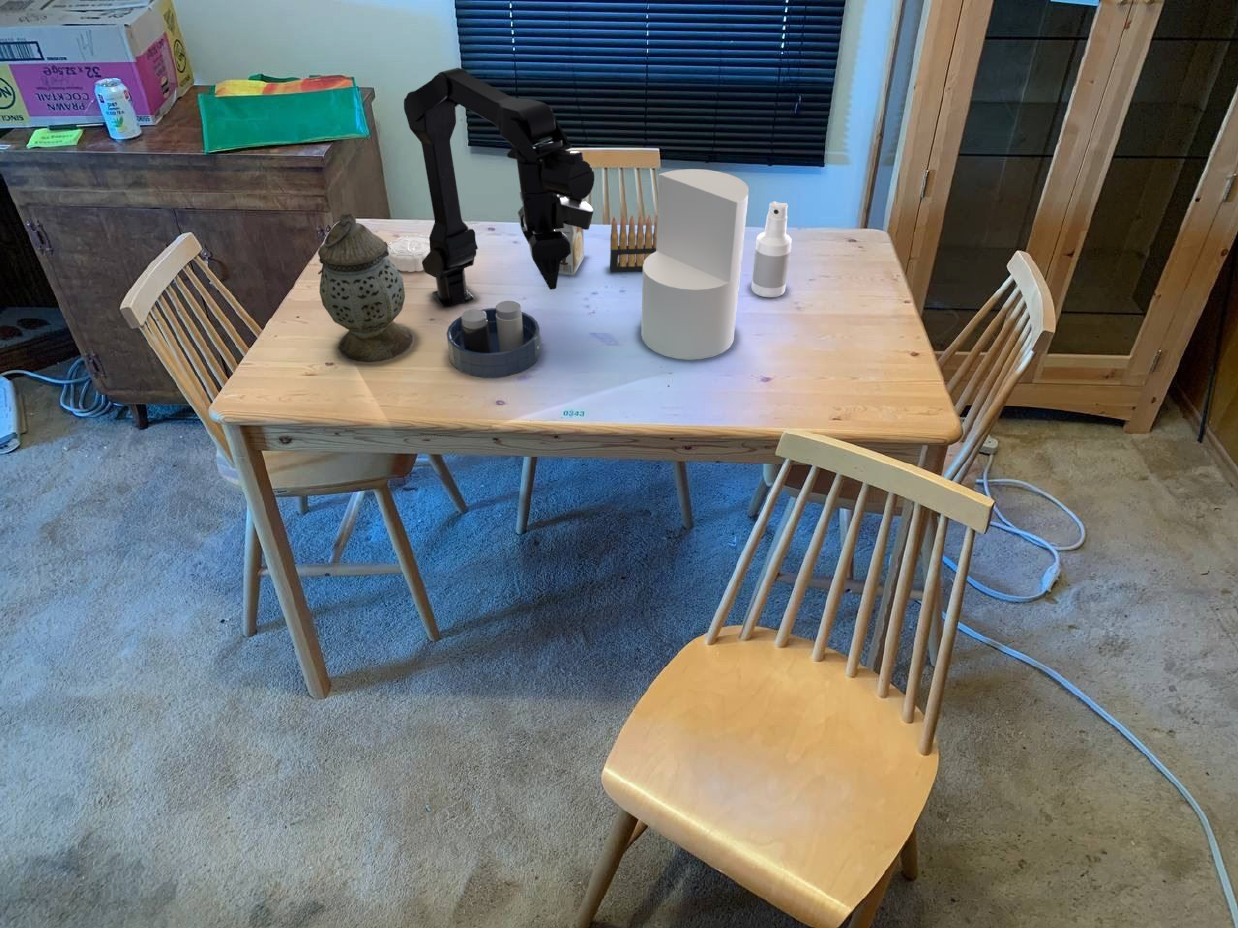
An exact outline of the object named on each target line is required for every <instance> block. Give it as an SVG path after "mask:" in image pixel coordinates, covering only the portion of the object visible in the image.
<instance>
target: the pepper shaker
mask: <svg viewBox="0 0 1238 928" xmlns="http://www.w3.org/2000/svg"><path fill="white" fill-rule="evenodd" d="M460 317H461V318H462V324H461V325H462V332H463V340H464V348H465V349H466V350H469V351H472V352H479V353H491V344H490V334H489V325H488V320H487V315H486V313H485V312H484V311H482V309H478V308H475V309H468V310H465V311H464V312H463V313H462V314H461V316H460Z"/></svg>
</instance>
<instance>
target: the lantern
mask: <svg viewBox="0 0 1238 928" xmlns="http://www.w3.org/2000/svg"><path fill="white" fill-rule="evenodd" d="M323 242H324V243H323V244H321V246H320V247H318V248H319V249H318V250H317V255H318V257H319V259H318V260H319V263H320V264H322V266H321V269H320V270H319V271H318V273H317V274H318V275H320V281H319V295H320V300H321V303H322V306H323V307H324V309H325V310H326V313H328V315H329V317H330V318H331V320H333V322H334V323H335V324H337V325H339V326H341V327H343V328H345V329H346V330H348V331H347V332H346V334H345V335H343V337H342V338H341V340H340V341H339V343H338V347H337V349H338V350H339V352H340V354H341V356H342V358H345V359H346V360H347V361H350V362H353V361H355V362H359V363H379V362H385V361H389V360H392V359H395V358H397V357H399V356H401V355H404V354H405V353H407V352H408V351H409V350H410V349H411V348H412V346H413V345H414V343H415V335H414V333H412V331H411V330H410V329H408V328H407V327H405V326H403V325H401V324H399V323H398V322H397V323H396V321H394V320H395V319H396V318H397V317H398V316H399V315H400V314H401V312H402V310H403V307H404V303H405V298H406V292H405V291H406V290H405V286H404V284H405V283H404V280H403V276H402V275H401V273H400V272H399V271H400V270H397V268H396V266H395V265H394V264H393V263H392V262H390V261H389V260H388V259H387V258H386V257H387V256H388V255H389V252H388V248H387V247H388V243H387V242H386V241H384V239H383V238H381V237H380V236H379V235H377V234H375V233H374V232H372V231H371V230H370V229H369V228H368V227H366V226H365V225H364V224H363V223H359V222H357V219H356V216H355V215H354V214H353V213H352V212H350V211H349V212H348V211H346V212H343V213H342V214H341V215H340V217H339V221H338V222H337V223H335V225H333V226H332V228H331V229H330V231H328V233H327V235H326V237H325V239H324V241H323Z"/></svg>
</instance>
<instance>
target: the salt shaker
mask: <svg viewBox="0 0 1238 928" xmlns="http://www.w3.org/2000/svg"><path fill="white" fill-rule="evenodd" d="M521 307H522V306H521V304H520V303H519V302H518V301H515V300H503V301H500V302H498V303H497V304H496V305H495V308H496V323H497V333H498V343H499V350H500V352H505V351H509V350H513V349H516V348H518V347H520V346H522V345H524V334H523V321H522V312H523V311H522V308H521Z"/></svg>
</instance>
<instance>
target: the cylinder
mask: <svg viewBox="0 0 1238 928" xmlns="http://www.w3.org/2000/svg"><path fill="white" fill-rule="evenodd" d="M657 187H658V188H657V214H656V216H657V244H656V252H654V253H652V254H651V255H649V256H648V257H647V258H646V259H645V260H644V264H643V272H642V281H641V282H642V286H641V326H640V327H641V328H640V334H641V339H642V342H643V343H644V344H645V346H646V347H647V348H648V349H650V350H652V351H653V352H654V353H656V354H659V355H662V356H664V357H668V358H672V359H677V360H687V361H688V360H689V361H693V360H694V361H695V360H704V359H709V358H713V357H716V356H718V355H721V354H723V353H724V352H726V351H728V349H730V348H731V346H732V344H733V343H734V339H735V332H736V331H735V330H736V319H737V311H738V310H737V309H738V302H739V301H738V300H739V292H740V291H739V290H740V280H741V271H742V263H743V251H744V242H745V233H746V232H745V231H746V221H747V212H748V201H749V192H750V188H749V186H748V185H747V183H746V182H744V181H743V180H742V179H741V178H739V177H736V176H734V175H733V174H729V173H726V172H722V171H718V170H717V171H716V170H711V169H700V168H699V169H698V168H687V169H676V170H670V171H665V172H662V173H658V185H657Z"/></svg>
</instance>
